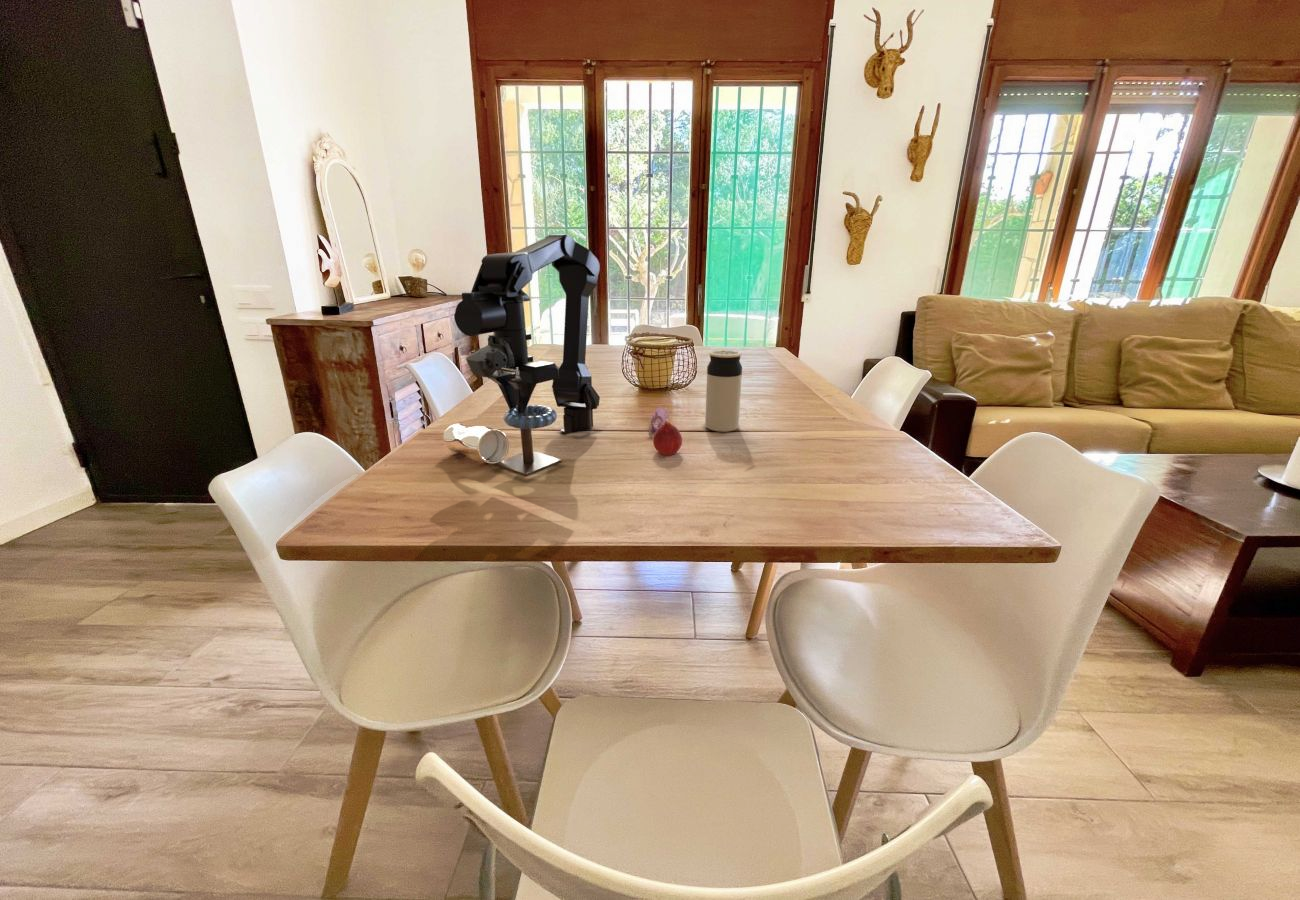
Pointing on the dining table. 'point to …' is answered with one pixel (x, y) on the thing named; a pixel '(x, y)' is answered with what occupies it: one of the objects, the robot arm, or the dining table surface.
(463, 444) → the beer glass
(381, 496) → the dining table surface
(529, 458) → the stand
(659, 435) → the onion
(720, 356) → the travel mug
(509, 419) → the blue ribbed ring toss
